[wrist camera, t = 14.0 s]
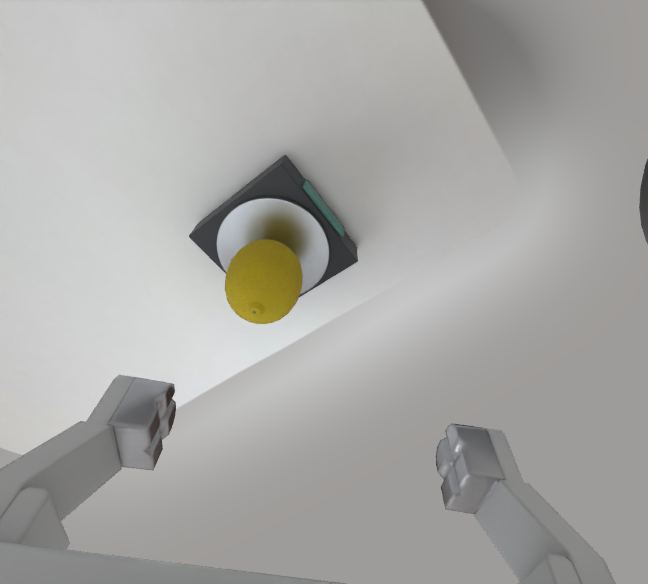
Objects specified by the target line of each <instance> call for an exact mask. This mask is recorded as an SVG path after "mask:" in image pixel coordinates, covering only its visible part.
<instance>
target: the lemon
mask: <svg viewBox="0 0 648 584" xmlns="http://www.w3.org/2000/svg"><path fill="white" fill-rule="evenodd" d="M302 281H303V273H302V269H301V264H300V262H299V260H298V258H297V256H296V255H295V253H294V252H293V251H292V250H291V249H290V248H289V247H287V246H286V245H284V244H283V243H280V242H278V241H275V240H269V239H263V240H257V241H254V242H251V243H249V244H247V245H245V246H244V247H242V248H241V249H240V250H239V251H238V252H237V253H236V255H235V256H234V257H233V258H232V260H231V262H230V265H229V267H228V269H227V273H226V280H225V291H226V296H227V300H228V302H229V304H230V306H231V308H232V309H233V310H234V311H235V313H236V314H237V315H239V316H240V317H241V318H243V319H245V320H247V321H249V322H253V323H257V324H267V323H272V322H275V321H277V320H280V319H281V318H283V317H284V316H285V315H287V314H288V313H289V312H290V310H291V309H292V308H293V306H294V305H295V304H296V302H297V300H298V297H299V295H300V292H301V289H302Z"/></svg>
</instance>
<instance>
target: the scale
mask: <svg viewBox="0 0 648 584" xmlns="http://www.w3.org/2000/svg"><path fill="white" fill-rule="evenodd" d="M260 196H279V197H283V198H287V199H290V200H293V201H295V202H297V203H299V204H301V205H303V206H304V207H306V208H307V209H308V210H310V211H311V212H312V213H313V214H314V215H315V216H316V217H317V218H318V220H319V221H320V222H321V224H322V225H323V227H324V229H325V231H326V234H327V237H328V241H329V250H330V252H329V261H328V265H327V268H326V271H325V273H324V275H323V276H322V278H321V279H320V280H319V281H318V283H317V284H316V285H314V286H313V287H312V288H311V289H309V290H308V291H310V290H312V289H313V288H315V287H317V286H318V285H320V284H322V283H323V282H325V281H326V280H328V279H330V278H331V277H333V276H335V275H336V274H338V273H340V272H341V271H343V270H344V269H346V268H348V267H349V266H351V265H353V264H354V263H356V262H357V261H358V257H357V247H356V245H355V244H354V243H353V241H352V240H351V239H350V238H349V236H348V235H347V234H346V232H345V231H344V227H343V226H342V224H341V223H340V222H339V221H338V219H337V218H336V217H335V215H334V214H333V213H332V211H331V210H330V209H329V208H328V206H327V205H326V204H325V202H324V201H323V200H322V198H321V197H320V196H319V195H318V193H317V192H316V191H315V189H314V188H313V187H312V185H311V184H310V183H309V182H308V180H305V179H304V178H303V177H302V175H301V174H300V173H299V172H298V170H297V169H296V168H295V166H294V165H293V164H292V163H291V161H290V160H289V159H288V157H287V156H286V155H284V156H283V157H282V158H280V159H279V160H278V161H277V162H275V163H274V164H273V165H272V166H270V167H269V168H268V169H267V170H265V171H264V172H263V173H261V174H260V175H259V176H258V177H256V178H255V179H254V180H253V181H251V182H250V183H249V184H247V185H246V186H245V187H244V188H242V189H241V190H240V191H239V192H237V193H236V194H235V195H234V196H232V197H231V198H230V199H228V200H227V201H226V202H225V203H223V204H222V205H221V206H220V207H218V208H217V209H216V210H215V211H213V212H212V213H211V214H209V215H208V216H207V217H206V218H204V219H203V220H202V221H201V222H199V223H198V224H197V226H196V227H195V228H194V230H193V231H192V232H191V234H190V235H189V237H190V238H191V239H192V240H193V241H194V242H195V243H196V244H197V245H198V246H199V247H200V248H201V249H202V250H203V251H204V252H205V253H206V254H207V255H208V256H209V257H210V258H211V259H212V260H213V261H214V262H215V263H216V264H217V265H218V266H219V267H220V268H221V269H222V270H223V271H224V272H225V273H226V271H225V270H224V268H223V266H222V264H221V262H220V259H219V256H218V252H217V236H218V231H219V229H220V226H221V224H222V222H223V220H224V219H225V217H226V216H227V215H228V213H229V212H230V211H231V210H232V209H233V208H234V207H236V206H237V205H239V204H240V203H242V202H244V201H246V200H248V199H251V198H254V197H260ZM308 291H306V292H304V293H302V294H300V295H299V297H300V296H302V295H304V294H305V293H307V292H308ZM299 297H298V298H299Z"/></svg>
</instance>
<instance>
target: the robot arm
mask: <svg viewBox="0 0 648 584" xmlns="http://www.w3.org/2000/svg"><path fill="white" fill-rule="evenodd" d="M174 393H175V390H174V384H172V383H166V382H161V381H155V380H149V379H143V378H137V377H131V376H124V375H119V376H117V377H116V378H115V379H114V380H113V381H112V383H111V385H110V386H109V388H108V389H107V391H106V392H105V394H104V395H103V397H102V398H101V400H100V401H99V403H98V404H97V406H96V407H95V409H94V410H93V412H92V413H91V415H90V417H89V418H88V420H87V421H86V422H83V421H80V422H78V423H77V424H75V425H73V426H72V427H70V428H68V429H67V430H65V431H63V432H62V433H60V434H58V435H57V436H55V437H53V438H51V439H50V440H48V441H46V442H45V443H43V444H41V445H40V446H38V447H36V448H35V449H33V450H31V451H30V452H28V453H26V454H25V455H23V456H21V457H20V458H18V459H16V460H15V461H13V462H11V463H10V464H8V465H6V466H5V467H3V468H1V469H0V584H344V583H336V582H328V581H320V580H312V579H303V578H295V577H287V576H279V575H271V574H262V573H254V572H246V571H238V570H230V569H221V568H213V567H204V566H196V565H189V564H180V563H172V562H163V561H156V560H148V559H139V558H131V557H123V556H115V555H106V554H98V553H90V552H81V551H74V550H66V549H67V547H68V545H69V540H68V537H67V534H66V532H65V530H64V527H63V525H62V523H61V521H62V520H63V519H64V518H65V517H66V516H67V515H69V514H70V513H71V512H72V511H73V510H74V509H76V508H77V507H78V506H79V505H80V504H81V503H82V502H84V501H85V500H86V499H87V498H88V497H90V496H91V495H92V494H93V493H94V492H95V491H97V490H98V489H99V488H100V487H101V486H102V485H103V484H105V483H106V482H107V481H108V480H109V479H110V478H112V477H113V476H114V475H115V474H116V473H118V472H119V471H120V470H121V467H126V468H136V469H145V470H153V469H154V467H155V465H156V463H157V460H158V458H159V456H160V454H161V451H162V449H163V448H162V439H164V438H165V437H166V436H168V435H169V433H170V430H171V428H172V425H173V421H174V418H175V411H176V402H175V401H174V400H173V399H172V397H173V395H174ZM446 435H447V437H446V438H444V439H442V440H441V441H440V443H439V445H438V447H437V452H436V465H437V471H438V473H439V474H440V475H441V477H442V478H443V479H444V482H443V484H442V486H441V490H442V494H443V500H444V504H445V509H446V510H452V511H458V512H464V513H470V514H475V515H474V517H475V518H476V519H477V521H478V522H479V524H480V525H481V527H482V528H483V530H484V531H485V532H486V534H487V535H488V537H489V538H490V539H491V541H492V542H493V544H494V545H495V547H496V548H497V550H498V551H499V552H500V554H501V555H502V557H503V558H504V560H505V561H506V563H507V564H508V565H509V567H510V568H511V570H512V571H513V573H514V574H515V575H516V577H517V578H518V580H519V581H520V582H519V583H518V584H616V583H615V581H614V579H613V577H612V575H611V573H610V571H609V569H608V567H607V564H606V562H605V561H604V559H603V558H602V557H601V556H600V555H599V554H598V553H597V552H596V551H595V550H594V549H593V548H592V547H591V546H590V545H589V544H588V543H587V542H586V541H585V540H584V539H583V538H582V537H581V536H580V535H579V534H578V533H577V532H576V531H575V530H574V529H573V528H572V527H571V526H570V525H569V524H568V523H567V522H566V521H565V520H564V519H563V518H562V517H561V516H560V515H559V514H558V512H557V511H555V510H554V508H553V507H552V506H551V505H550V504H549V503H547V502H546V500H545V499H544V498H543V497H542V496H541V495H540V494H539V493H538V492H537V491H536V490H535V489H534V488H533V487H532V486H531V485H530V484H529V483H524V482H523V479H522V477H521V474H520V472H519V469H518V467H517V464H516V462H515V459H514V456H513V454H512V452H511V449H510V446H509V444H508V442H507V439H506V436H505V434H504V433H503V432H502V431H500V430H493V429H486V428H481V427H474V426H467V425H459V424H450V425H449V426H448V427H447V429H446Z"/></svg>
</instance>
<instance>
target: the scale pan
mask: <svg viewBox="0 0 648 584" xmlns="http://www.w3.org/2000/svg"><path fill="white" fill-rule="evenodd" d="M263 239H269V240H275V241H278V242H280V243H283V244H284V245H286V246H287V247H289V248H290V249H291V250H292V251H293V252H294V253H295V255H296V256H297V258H298V260H299V262H300V264H301V269H302V273H303V281H302V289H301V292H300V294H302V293H304V292H306V291H308V290H309V289H311V288H312V287H313V286H314V285H316V284H317V283H318V281H319V280H320V279H321V278H322V276H323V275H324V273H325V271H326V268H327V265H328V261H329V252H330V250H329V241H328V237H327V234H326V231H325V229H324V227H323V225H322V224H321V222H320V221H319V220H318V218H317V217H316V216H315V215H314V214H313V213H312V212H311V211H310V210H308V209H307V208H306V207H304V206H303V205H301V204H299V203H297V202H295V201H293V200H290V199H287V198H283V197H279V196H260V197H254V198H251V199H248V200H246V201H244V202H242V203H240V204H239V205H237V206H236V207H234V208H233V209H232V210H231V211H230V212H229V213H228V215H227V216H226V217H225V219H224V220H223V222H222V224H221V226H220V229H219V231H218V236H217V252H218V256H219V259H220V262H221V264H222V266H223V268H224V270H225V271H226V273H227V269H228V267H229V265H230V262H231V260H232V258H233V257H234V256H235V255H236V253H237V252H238V251H239V250H240V249H241V248H242V247H244V246H245V245H247V244H249V243H251V242H254V241H257V240H263Z"/></svg>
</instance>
